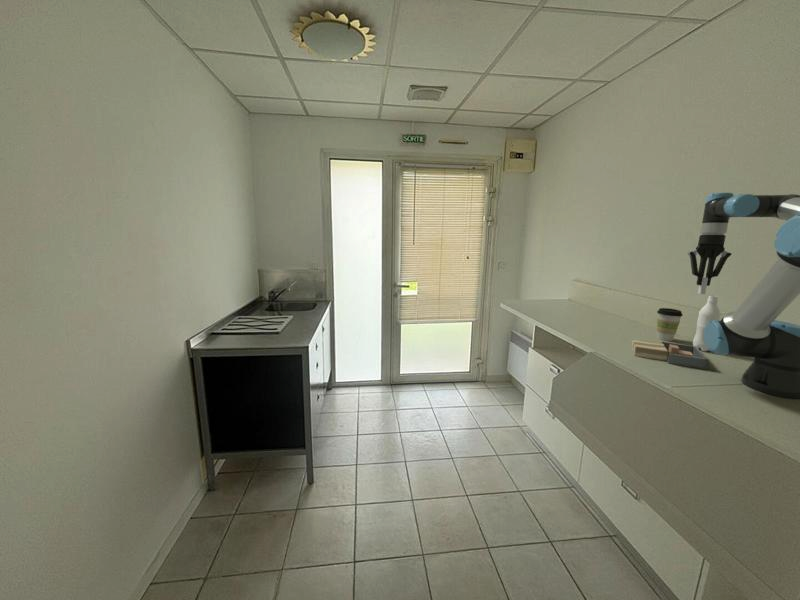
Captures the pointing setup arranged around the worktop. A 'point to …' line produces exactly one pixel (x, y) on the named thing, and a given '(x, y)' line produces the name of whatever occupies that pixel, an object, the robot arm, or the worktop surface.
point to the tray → (696, 361)
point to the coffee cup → (667, 323)
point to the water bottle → (706, 321)
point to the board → (649, 349)
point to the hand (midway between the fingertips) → (701, 293)
